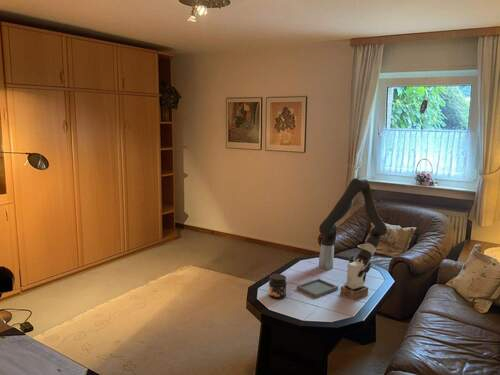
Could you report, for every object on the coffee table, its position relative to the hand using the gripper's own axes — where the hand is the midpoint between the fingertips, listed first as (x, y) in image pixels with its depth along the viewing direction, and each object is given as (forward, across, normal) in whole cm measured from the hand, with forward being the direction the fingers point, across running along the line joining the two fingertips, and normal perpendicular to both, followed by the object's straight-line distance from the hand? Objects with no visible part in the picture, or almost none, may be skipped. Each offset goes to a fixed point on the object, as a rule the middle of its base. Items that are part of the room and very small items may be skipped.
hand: (353, 274), depth 243 cm
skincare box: (+5, 0, +7) cm, 8 cm away
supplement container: (+36, -26, -17) cm, 47 cm away
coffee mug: (-6, -12, +25) cm, 29 cm away
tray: (+17, -18, +1) cm, 25 cm away
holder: (+8, 0, +10) cm, 13 cm away
